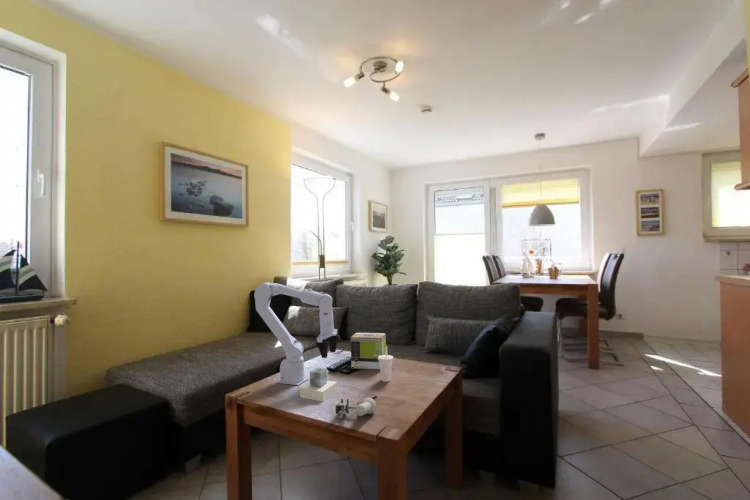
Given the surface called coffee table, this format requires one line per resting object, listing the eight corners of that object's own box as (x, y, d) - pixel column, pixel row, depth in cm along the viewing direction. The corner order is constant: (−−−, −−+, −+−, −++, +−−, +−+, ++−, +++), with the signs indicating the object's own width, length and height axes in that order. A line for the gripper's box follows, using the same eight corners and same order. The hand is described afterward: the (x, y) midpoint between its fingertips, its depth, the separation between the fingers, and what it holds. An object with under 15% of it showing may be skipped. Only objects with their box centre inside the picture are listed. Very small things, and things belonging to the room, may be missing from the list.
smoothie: (392, 383, 142) (391, 349, 142) (376, 382, 144) (376, 348, 144) (394, 377, 149) (393, 344, 149) (379, 376, 150) (379, 344, 150)
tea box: (386, 363, 168) (386, 332, 168) (382, 370, 158) (381, 337, 158) (356, 361, 171) (356, 331, 171) (350, 368, 161) (350, 336, 161)
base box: (300, 398, 131) (300, 387, 131) (315, 388, 140) (315, 378, 140) (323, 402, 126) (322, 391, 126) (337, 392, 135) (337, 382, 135)
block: (310, 386, 132) (309, 371, 132) (316, 381, 136) (316, 367, 136) (320, 387, 130) (320, 373, 130) (326, 383, 134) (326, 369, 134)
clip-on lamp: (354, 407, 128) (332, 418, 112) (354, 389, 129) (332, 397, 113) (385, 408, 124) (366, 420, 108) (384, 389, 126) (365, 398, 109)
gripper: (326, 326, 140) (329, 360, 140) (342, 319, 153) (344, 350, 153) (311, 326, 142) (313, 359, 142) (328, 319, 156) (330, 349, 156)
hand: (328, 354), depth 148 cm, fingers open, 7 cm apart
